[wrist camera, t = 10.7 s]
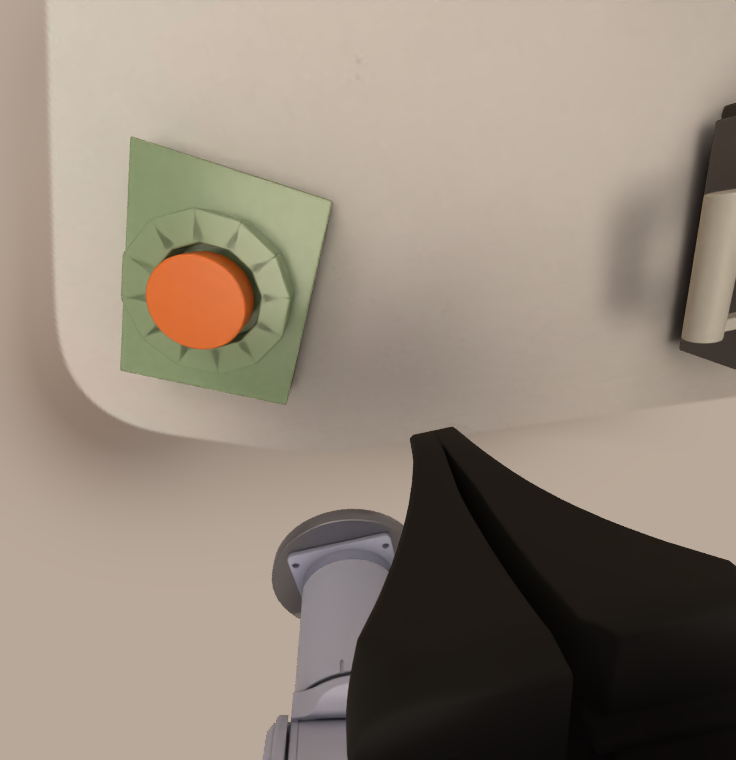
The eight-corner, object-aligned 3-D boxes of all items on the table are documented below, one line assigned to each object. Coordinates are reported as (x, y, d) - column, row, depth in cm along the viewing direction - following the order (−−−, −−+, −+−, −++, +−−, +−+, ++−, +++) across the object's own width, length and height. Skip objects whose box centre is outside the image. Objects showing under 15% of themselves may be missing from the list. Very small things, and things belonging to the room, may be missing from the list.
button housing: (290, 388, 21) (281, 422, 17) (141, 356, 20) (97, 385, 16) (332, 203, 18) (332, 197, 14) (155, 147, 16) (103, 123, 12)
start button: (247, 346, 16) (238, 359, 15) (161, 326, 16) (141, 337, 14) (261, 265, 15) (253, 269, 13) (168, 239, 14) (148, 240, 13)
